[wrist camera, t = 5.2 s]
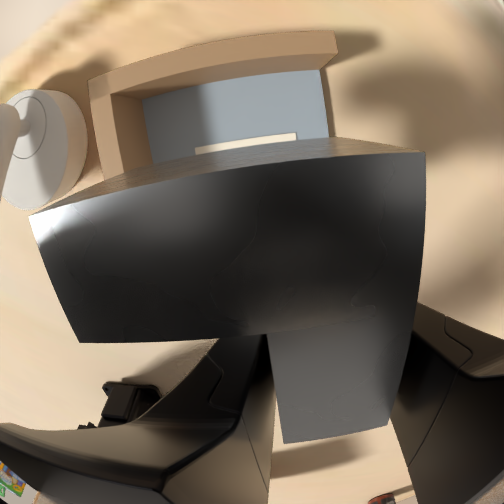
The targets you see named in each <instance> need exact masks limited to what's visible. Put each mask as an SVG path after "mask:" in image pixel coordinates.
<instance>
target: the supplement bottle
mask: <svg viewBox="0 0 504 504" xmlns="http://www.w3.org/2000/svg"><path fill="white" fill-rule="evenodd" d="M368 504H396V503H395V499H394V496H393V494H385V495H381V496H379V497H376V498H374V499H372V500H370V501H369V502H368Z"/></svg>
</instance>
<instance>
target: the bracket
mask: <svg viewBox="0 0 504 504" xmlns="http://www.w3.org/2000/svg"><path fill="white" fill-rule="evenodd" d="M425 212H426V160H425V152H422V151H418V150H413V149H408V148H403V147H398V146H393V145H387V144H381V143H375V142H369V141H363V140H356V139H349V138H342V137H325V138H313V139H302V140H293V141H284V142H275V143H267V144H260V145H252V146H246V147H239V148H232V149H226V150H220V151H215V152H209V153H203V154H198V155H193V156H188V157H183V158H178V159H173V160H168V161H164V162H159V163H155V164H151V165H146V166H142V167H138V168H134V169H132V170H129V171H127V172H124V173H122V174H119V175H117V176H114V177H112V178H109V179H107V180H105V181H102V182H100V183H98V184H95V185H93V186H91V187H88V188H86V189H84V190H82V191H79V192H77V193H75V194H73V195H71V196H69V197H67V198H64V199H62V200H60V201H58V202H56V203H54V204H52V205H50V206H48V207H46V208H44V209H42V210H40V211H38V212H36V213H34V214H32V215H31V216H29V220H30V223H31V226H32V230H33V233H34V236H35V239H36V242H37V245H38V248H39V251H40V254H41V256H42V259H43V262H44V265H45V267H46V270H47V272H48V275H49V278H50V280H51V283H52V285H53V287H54V290H55V292H56V294H57V297H58V299H59V301H60V304H61V306H62V308H63V310H64V312H65V314H66V317H67V319H68V321H69V323H70V325H71V327H72V329H73V331H74V333H75V335H76V337H77V339H78V341H79V343H139V342H167V341H186V340H201V339H215V338H227V337H238V336H248V335H257V334H267V339H268V346H269V352H270V359H271V365H272V371H273V378H274V384H275V391H276V397H277V403H278V410H279V416H280V423H281V429H282V436H283V442H284V444H287V443H296V442H304V441H311V440H318V439H324V438H330V437H336V436H341V435H347V434H352V433H356V432H361V431H365V430H370V429H374V428H378V427H382V426H386V425H387V424H388V421H389V418H390V414H391V411H392V408H393V405H394V402H395V398H396V395H397V391H398V388H399V384H400V381H401V377H402V373H403V369H404V365H405V361H406V357H407V352H408V348H409V343H410V338H411V333H412V328H413V323H414V317H415V311H416V305H417V299H418V292H419V285H420V277H421V268H422V258H423V247H424V233H425Z"/></svg>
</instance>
